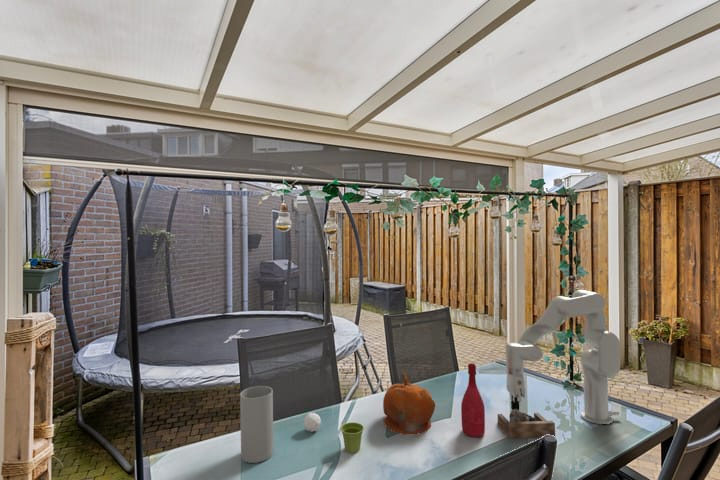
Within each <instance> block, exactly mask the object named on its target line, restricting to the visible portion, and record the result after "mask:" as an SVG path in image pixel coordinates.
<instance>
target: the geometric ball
mask: <svg viewBox="0 0 720 480" xmlns="http://www.w3.org/2000/svg"><path fill="white" fill-rule="evenodd" d="M321 424H322V419H321V417H320V415H318V414H317V413H315V412H310V413H308V414H306V416H305V417H304V419H303V427H304V429H305V430H306V431H307V432H309V431H310V432H309V433H314V432H313V431H315V432H317V431H318V430H319V429H320V427H321Z"/></svg>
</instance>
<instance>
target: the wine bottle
mask: <svg viewBox="0 0 720 480" xmlns="http://www.w3.org/2000/svg"><path fill="white" fill-rule="evenodd" d="M467 366H468V367H467V369H468V370H467V374H468V383H467V387H466V390H465V392H464V394H463V397H462V400H461V407H460V409H461V412H460V415H461V429H462V432H463V433H464V434H465V435H466V436H469V437H472V438H480V437H482V436H483V435H485V431H486V427H485V426H486V412H485V411H486V410H485V403H484V400H483V398H482V395H481V393H480V390H479V388H478V386H477V381H476V375H477V366H476V364H475V363H473V362H471V363H468V364H467Z"/></svg>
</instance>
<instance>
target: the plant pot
mask: <svg viewBox="0 0 720 480" xmlns="http://www.w3.org/2000/svg"><path fill="white" fill-rule="evenodd" d="M340 431H341V433H342V437H343V445H344V450H345V451H346V452H347V453H354V454H355V453H358V452H359V451H360V449H361V442H362V436H363V432H364V425H363V424H361V423H359V422H345V423H343V424H342V425H341V427H340Z"/></svg>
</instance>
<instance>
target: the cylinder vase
mask: <svg viewBox="0 0 720 480" xmlns="http://www.w3.org/2000/svg"><path fill="white" fill-rule="evenodd" d="M239 398H240V401H239V402H240V404H239V406H240V408H239V409H240V411H239V413H240V459H242V461H243V462H245V463H247V462H248V463H249V464H259V463H262V462H264V461H267V460H269V458H271V457H272V456H273V454H274V450H275V449H274V391H273V388H272V387H270V386H266V385H256V386H251V387H248V388H245V389H243V390H242V391H241V392H240V393H239Z"/></svg>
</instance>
